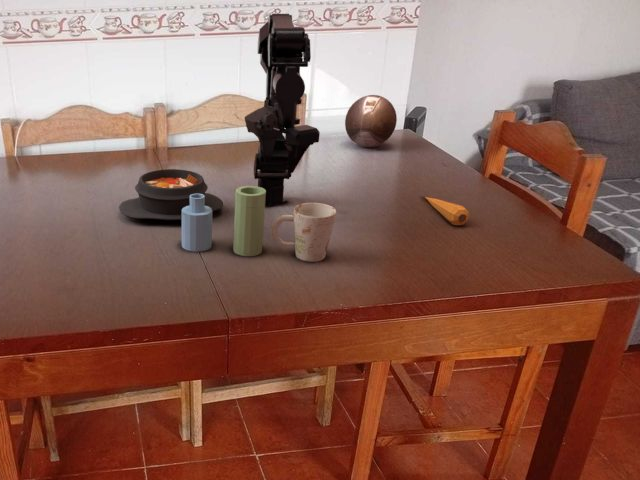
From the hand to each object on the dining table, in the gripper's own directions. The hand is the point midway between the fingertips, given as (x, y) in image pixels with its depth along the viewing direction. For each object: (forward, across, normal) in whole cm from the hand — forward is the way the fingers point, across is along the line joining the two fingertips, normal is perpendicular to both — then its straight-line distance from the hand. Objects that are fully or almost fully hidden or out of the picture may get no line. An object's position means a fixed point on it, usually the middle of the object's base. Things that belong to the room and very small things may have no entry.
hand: (278, 167), depth 153 cm
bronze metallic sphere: (+13, -38, +63) cm, 75 cm away
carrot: (+13, +14, +39) cm, 43 cm away
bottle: (+13, +2, -22) cm, 26 cm away
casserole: (+13, -18, -17) cm, 28 cm away
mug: (+13, +17, -6) cm, 22 cm away
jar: (+13, +10, -14) cm, 21 cm away
